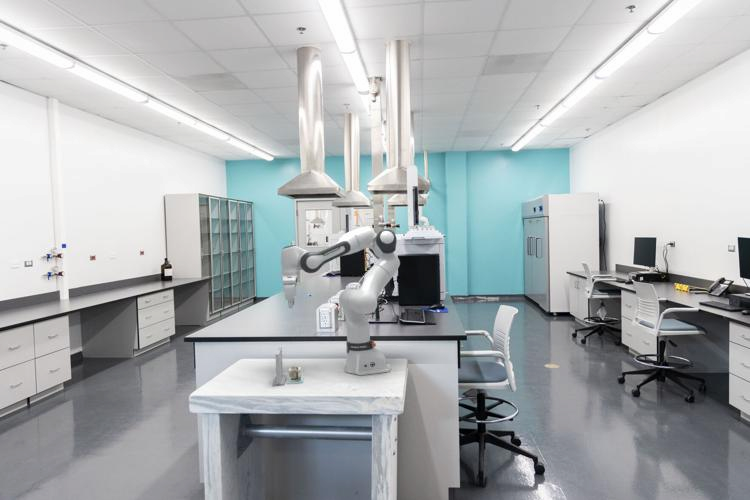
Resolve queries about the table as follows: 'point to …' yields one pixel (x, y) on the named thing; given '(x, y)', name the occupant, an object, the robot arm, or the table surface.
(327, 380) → the table surface
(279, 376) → the screen
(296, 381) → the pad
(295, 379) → the letter cube
